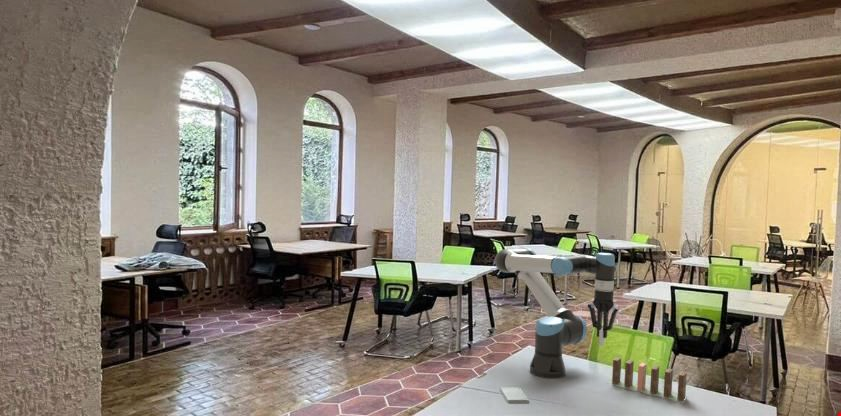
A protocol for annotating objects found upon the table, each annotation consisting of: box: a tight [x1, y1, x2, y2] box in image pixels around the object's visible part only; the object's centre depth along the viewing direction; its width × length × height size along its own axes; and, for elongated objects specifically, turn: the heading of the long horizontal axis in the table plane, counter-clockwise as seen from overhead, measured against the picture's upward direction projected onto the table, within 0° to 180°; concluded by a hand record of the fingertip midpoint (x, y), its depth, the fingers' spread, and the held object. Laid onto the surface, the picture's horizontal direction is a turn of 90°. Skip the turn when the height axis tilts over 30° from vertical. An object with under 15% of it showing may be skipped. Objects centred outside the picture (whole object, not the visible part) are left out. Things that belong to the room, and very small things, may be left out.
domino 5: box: [663, 368, 674, 398], centre depth 209 cm, size 2×5×10 cm, turn 142°
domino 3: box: [636, 362, 647, 392], centre depth 215 cm, size 2×5×10 cm, turn 142°
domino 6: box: [677, 371, 688, 402], centre depth 206 cm, size 2×5×10 cm, turn 142°
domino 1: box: [611, 356, 622, 386], centre depth 221 cm, size 2×5×10 cm, turn 142°
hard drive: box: [499, 387, 530, 404], centre depth 204 cm, size 2×8×12 cm
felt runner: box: [607, 379, 688, 404], centre depth 215 cm, size 29×8×1 cm, turn 52°
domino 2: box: [624, 359, 635, 389], centre depth 218 cm, size 2×5×10 cm, turn 142°
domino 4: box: [649, 365, 660, 395], centre depth 212 cm, size 2×5×10 cm, turn 142°
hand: (601, 344), depth 225 cm, fingers closed
